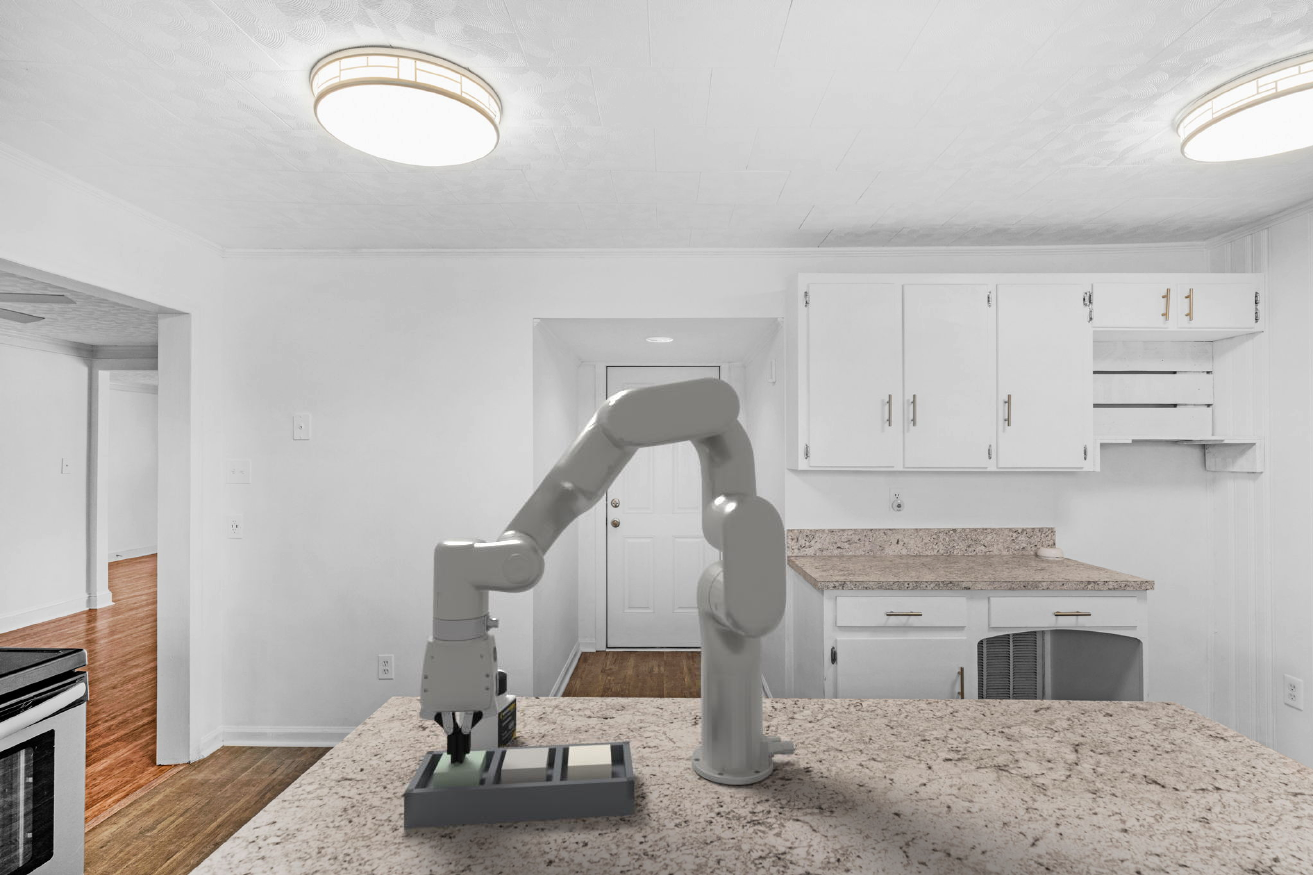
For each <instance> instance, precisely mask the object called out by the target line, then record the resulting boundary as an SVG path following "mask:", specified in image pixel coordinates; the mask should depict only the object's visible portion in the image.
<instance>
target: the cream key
mask: <svg viewBox="0 0 1313 875" xmlns="http://www.w3.org/2000/svg"><path fill="white" fill-rule="evenodd" d="M607 778H611V750H610V745H590V746H569V757H568V781H570V780H589V779H607Z"/></svg>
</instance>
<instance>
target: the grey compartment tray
mask: <svg viewBox="0 0 1313 875" xmlns="http://www.w3.org/2000/svg"><path fill="white" fill-rule="evenodd" d="M590 745H610V750H611V778H607V779H589V780H570V781H568V757H569V746H590ZM528 748H549V763H548V770H547V777H546V782H533V783H515V784H501V769H502V766H503V762H504V759H505V755H506V752H507V750H508V749H528ZM470 751H486V766H485V769H484V772H483V775H482V778H481V781H480V784H479V785H478V786H459V787H441V788H433V777H434V771H435V769H436V767H437V765H438V763H439V761H440V759H441V757H442V755H443V753H446V752H447V749H446V750H445V749H444V750H427V751H426V753H425V754H424V756H423V759H422V760H421V762H420V764H419V766H418V767H417V769H416V771H415V773H414V775H413V777H412V778H411V780H410V782H409V783H408V785H407V786H406V789H405V791H404V793H403V829H415V828H416V829H419V828H432V827H434V828H436V827H449V826H450V827H452V826H453V827H454V826H465V825H466V826H467V824H471V825H483V824H484V825H486V824H485V823H487V824H500V823H502V824H503V823H517V822H518V823H519V822H534V821H536V822H537V821H549V820H550V821H552V820H553V821H554V820H569V819H571V820H572V819H583V818H584V819H585V818H597V817H598V818H600V817H601V818H602V817H616V816H617V817H618V816H634V815H635V811H636V810H635V775H634V768H633V767H634V766H633V759H632V753H631V744H630V741H613V742H612V741H611V742H589V743H588V742H586V743H570V744H569V743H568V744H566V743H565V744H549V745H548V744H547V745H528V746H527V745H525V746H506V747H504V748H483V749H471V750H470ZM463 824H465V825H463Z"/></svg>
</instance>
